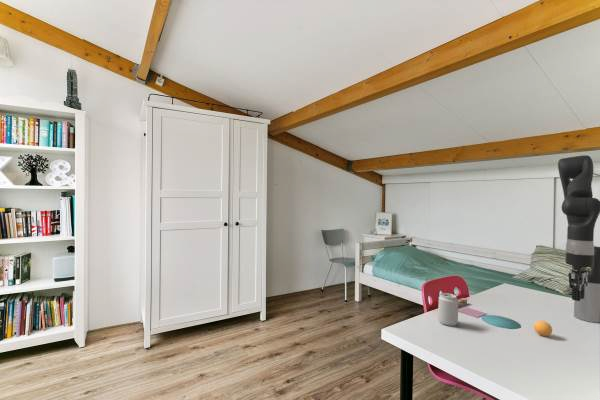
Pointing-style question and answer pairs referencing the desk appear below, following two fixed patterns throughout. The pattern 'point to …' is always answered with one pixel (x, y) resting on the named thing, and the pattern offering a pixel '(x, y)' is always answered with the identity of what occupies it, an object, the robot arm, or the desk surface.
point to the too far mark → (472, 312)
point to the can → (448, 309)
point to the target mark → (501, 321)
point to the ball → (543, 328)
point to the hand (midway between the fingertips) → (578, 299)
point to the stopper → (462, 301)
